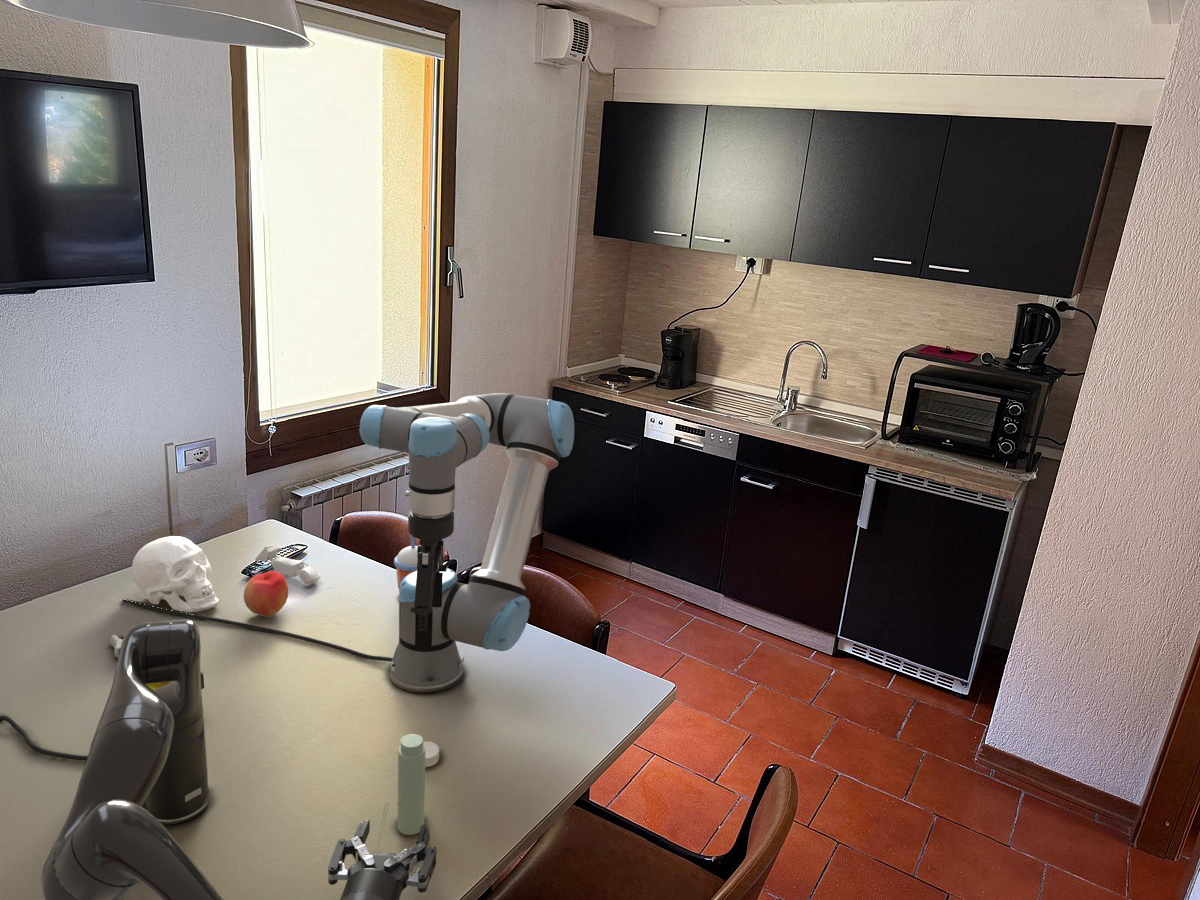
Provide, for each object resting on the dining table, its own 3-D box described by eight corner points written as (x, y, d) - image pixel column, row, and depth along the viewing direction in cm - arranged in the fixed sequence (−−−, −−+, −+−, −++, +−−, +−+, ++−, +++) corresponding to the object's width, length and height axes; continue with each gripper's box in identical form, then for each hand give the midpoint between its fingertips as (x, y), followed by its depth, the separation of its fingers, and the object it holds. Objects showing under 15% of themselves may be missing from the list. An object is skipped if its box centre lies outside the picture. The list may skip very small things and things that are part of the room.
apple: (273, 600, 207) (272, 562, 204) (297, 613, 202) (296, 575, 199) (237, 614, 200) (234, 575, 197) (261, 628, 194) (259, 588, 191)
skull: (197, 623, 194) (195, 558, 190) (119, 603, 200) (115, 540, 196) (237, 600, 207) (236, 539, 203) (163, 582, 212) (160, 522, 208)
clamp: (253, 565, 223) (254, 542, 221) (265, 560, 226) (266, 537, 224) (309, 593, 215) (310, 569, 213) (320, 588, 218) (321, 564, 216)
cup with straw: (422, 608, 209) (423, 541, 204) (387, 602, 210) (387, 535, 205) (436, 592, 217) (437, 527, 212) (403, 587, 219) (403, 522, 214)
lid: (435, 768, 154) (436, 759, 153) (409, 766, 154) (409, 757, 153) (441, 751, 158) (441, 742, 158) (415, 749, 158) (415, 740, 158)
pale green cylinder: (405, 814, 142) (406, 729, 137) (428, 820, 141) (430, 735, 136) (392, 831, 138) (393, 745, 134) (416, 838, 137) (418, 751, 133)
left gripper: (310, 933, 113) (349, 843, 129) (417, 943, 113) (443, 851, 128) (309, 889, 111) (348, 802, 126) (418, 898, 111) (444, 810, 126)
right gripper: (419, 484, 154) (417, 590, 160) (395, 539, 130) (394, 662, 136) (461, 486, 154) (458, 592, 160) (445, 542, 130) (442, 664, 137)
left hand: (396, 827), depth 127 cm, fingers open, 8 cm apart
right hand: (429, 624), depth 148 cm, fingers open, 13 cm apart
